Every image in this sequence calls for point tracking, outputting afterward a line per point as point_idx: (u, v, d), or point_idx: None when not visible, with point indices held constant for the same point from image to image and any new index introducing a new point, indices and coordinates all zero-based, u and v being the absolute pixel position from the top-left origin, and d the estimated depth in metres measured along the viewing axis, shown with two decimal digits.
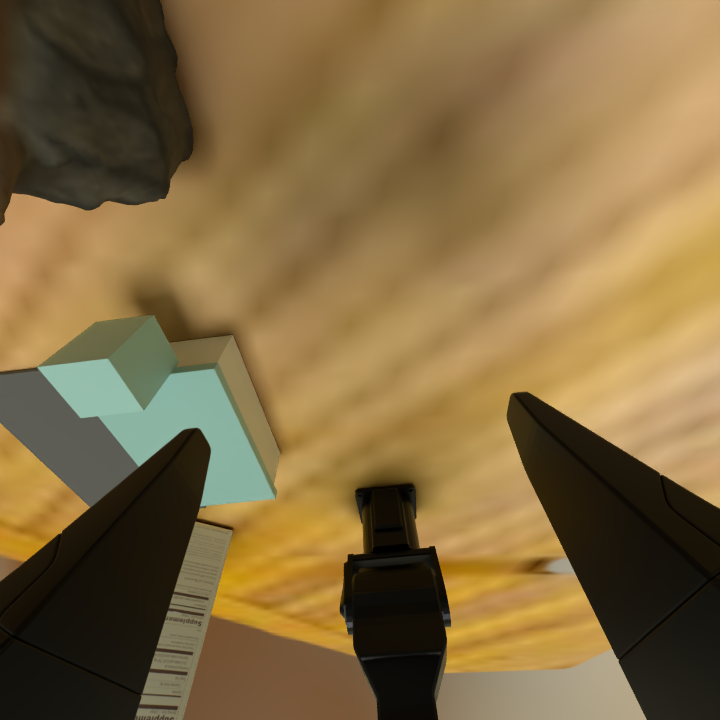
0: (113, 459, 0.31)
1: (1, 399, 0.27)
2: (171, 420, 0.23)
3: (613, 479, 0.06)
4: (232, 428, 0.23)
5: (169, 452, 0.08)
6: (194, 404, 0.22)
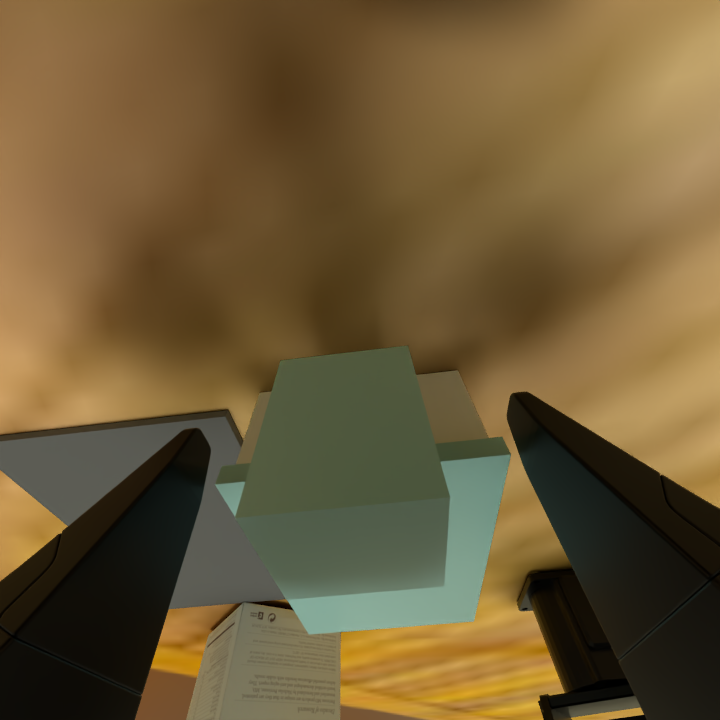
0: (203, 545, 0.21)
1: (44, 471, 0.16)
2: None
3: (613, 479, 0.06)
4: (474, 541, 0.13)
5: (169, 452, 0.08)
6: None
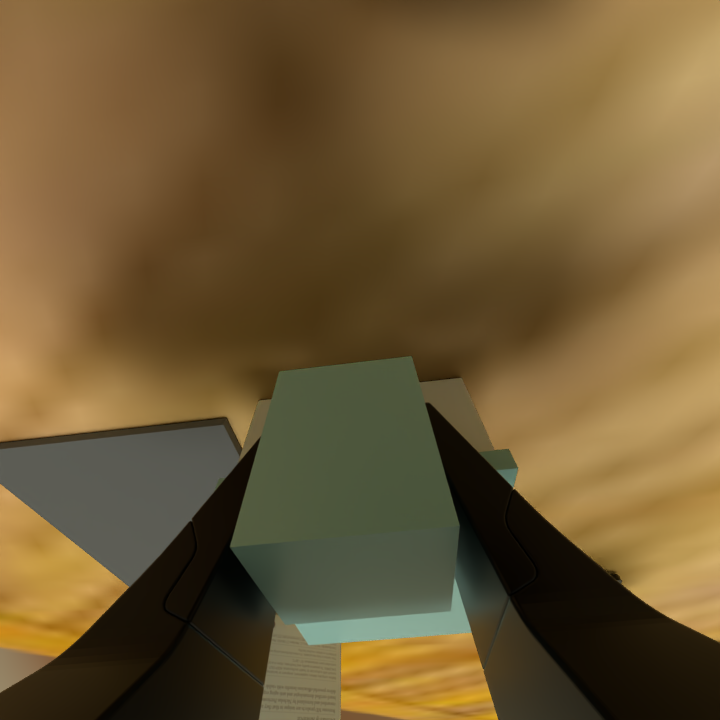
0: None
1: (39, 479, 0.16)
2: None
3: (467, 493, 0.06)
4: None
5: None
6: None
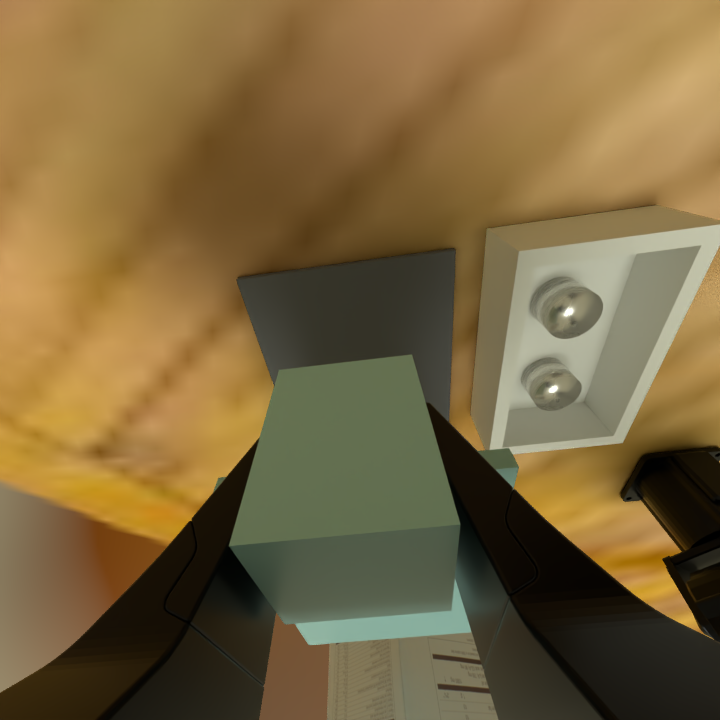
0: None
1: (282, 312, 0.19)
2: None
3: (467, 493, 0.06)
4: None
5: None
6: None
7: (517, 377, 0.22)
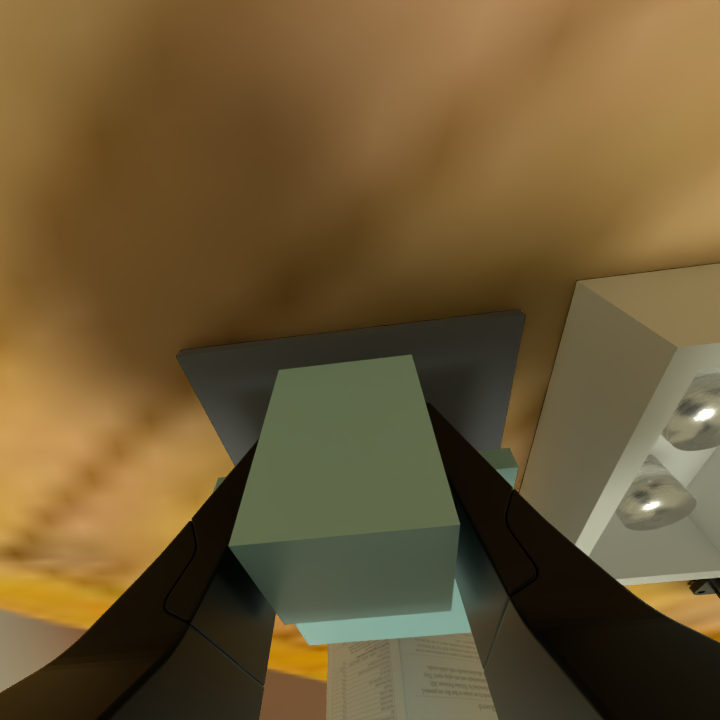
0: None
1: (252, 398, 0.13)
2: None
3: (467, 493, 0.06)
4: None
5: None
6: None
7: None
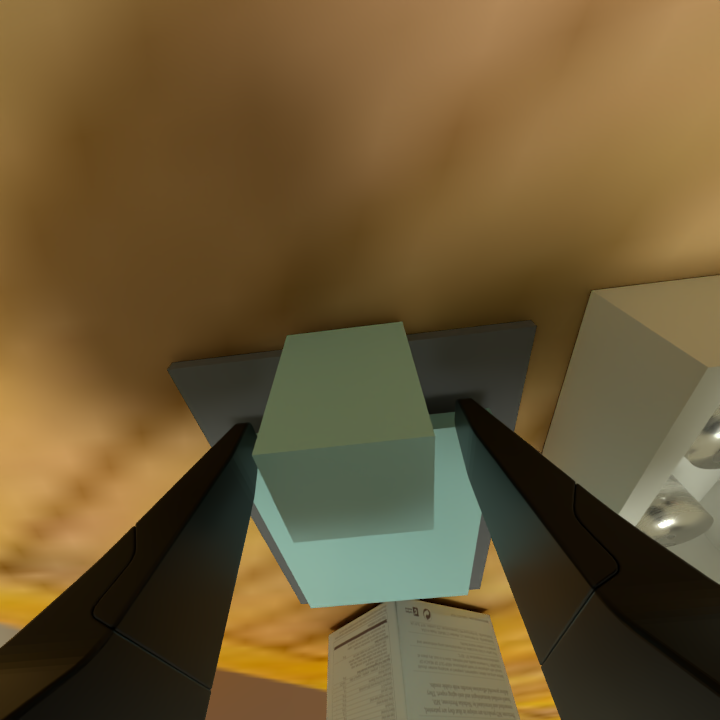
0: None
1: (248, 412, 0.12)
2: None
3: (529, 487, 0.06)
4: (466, 511, 0.14)
5: (227, 446, 0.08)
6: None
7: None
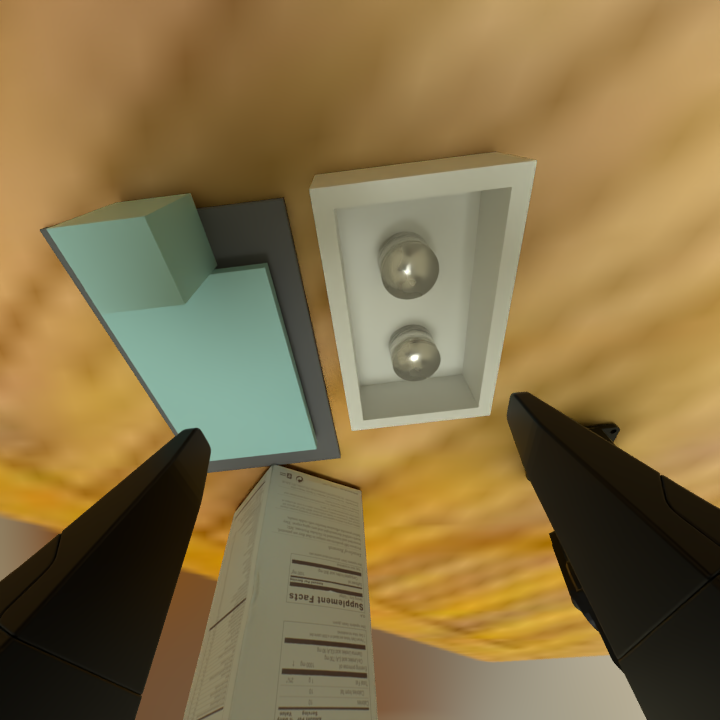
0: None
1: None
2: (205, 342, 0.19)
3: (613, 479, 0.06)
4: (277, 354, 0.20)
5: (169, 452, 0.08)
6: (235, 319, 0.18)
7: (385, 346, 0.21)
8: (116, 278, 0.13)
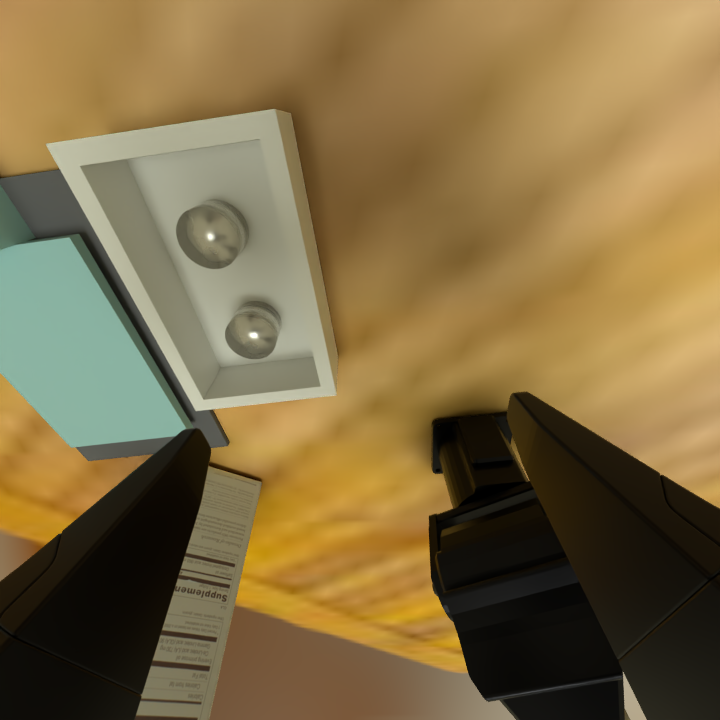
0: None
1: None
2: (35, 317, 0.19)
3: (613, 479, 0.06)
4: (114, 330, 0.19)
5: (169, 452, 0.08)
6: (58, 293, 0.18)
7: None
8: None
